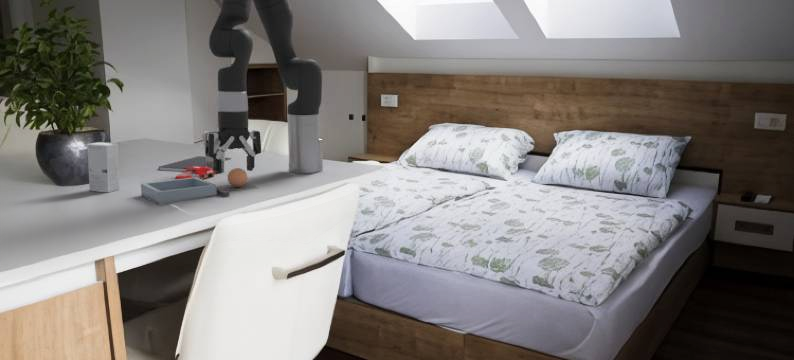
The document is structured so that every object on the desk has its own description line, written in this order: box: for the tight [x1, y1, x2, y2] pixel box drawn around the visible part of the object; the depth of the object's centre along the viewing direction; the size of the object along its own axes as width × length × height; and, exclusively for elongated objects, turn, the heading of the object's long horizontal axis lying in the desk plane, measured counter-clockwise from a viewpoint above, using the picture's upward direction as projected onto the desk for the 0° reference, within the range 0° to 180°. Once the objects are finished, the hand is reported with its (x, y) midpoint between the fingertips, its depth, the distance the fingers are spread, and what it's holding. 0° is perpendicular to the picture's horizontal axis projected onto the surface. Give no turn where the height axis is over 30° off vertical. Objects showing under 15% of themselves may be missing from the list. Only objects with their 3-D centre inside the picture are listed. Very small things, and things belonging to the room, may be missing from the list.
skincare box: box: [86, 141, 120, 193], centre depth 162 cm, size 6×4×12 cm
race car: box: [174, 166, 215, 181], centre depth 176 cm, size 13×5×4 cm, turn 158°
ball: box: [227, 167, 248, 187], centre depth 166 cm, size 5×5×5 cm
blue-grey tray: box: [140, 177, 218, 206], centre depth 156 cm, size 14×13×3 cm
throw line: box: [216, 186, 230, 198], centre depth 162 cm, size 1×18×1 cm, turn 39°
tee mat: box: [216, 182, 259, 193], centre depth 166 cm, size 8×8×1 cm
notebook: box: [158, 155, 232, 172], centre depth 201 cm, size 13×2×21 cm
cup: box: [201, 130, 226, 175], centre depth 188 cm, size 7×7×12 cm
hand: (234, 171), depth 165 cm, fingers open, 8 cm apart
